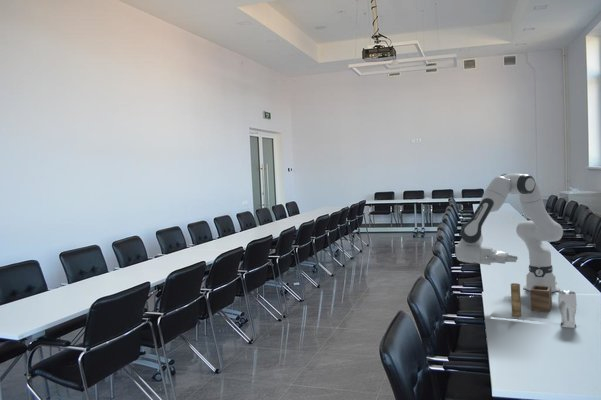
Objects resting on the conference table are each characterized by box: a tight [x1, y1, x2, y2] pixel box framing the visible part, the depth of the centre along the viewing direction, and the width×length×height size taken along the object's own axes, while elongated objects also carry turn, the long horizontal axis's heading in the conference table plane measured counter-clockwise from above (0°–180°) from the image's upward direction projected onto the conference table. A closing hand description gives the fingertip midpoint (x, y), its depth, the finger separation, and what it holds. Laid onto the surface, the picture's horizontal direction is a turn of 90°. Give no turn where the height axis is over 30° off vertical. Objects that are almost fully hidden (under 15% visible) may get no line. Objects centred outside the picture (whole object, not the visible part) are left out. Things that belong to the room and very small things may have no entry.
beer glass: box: [558, 290, 578, 329], centre depth 216 cm, size 7×7×15 cm
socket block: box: [529, 285, 553, 313], centre depth 240 cm, size 10×8×10 cm
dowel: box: [510, 282, 522, 320], centre depth 232 cm, size 4×4×16 cm
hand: (517, 259), depth 244 cm, fingers open, 8 cm apart
